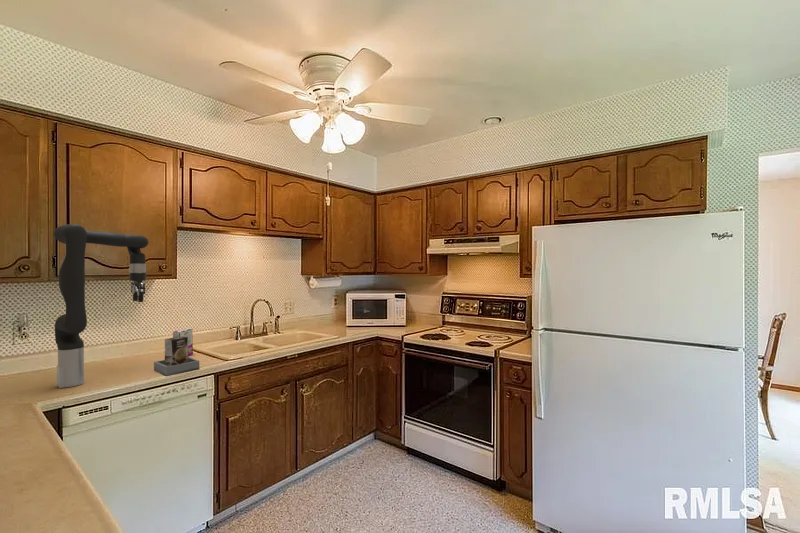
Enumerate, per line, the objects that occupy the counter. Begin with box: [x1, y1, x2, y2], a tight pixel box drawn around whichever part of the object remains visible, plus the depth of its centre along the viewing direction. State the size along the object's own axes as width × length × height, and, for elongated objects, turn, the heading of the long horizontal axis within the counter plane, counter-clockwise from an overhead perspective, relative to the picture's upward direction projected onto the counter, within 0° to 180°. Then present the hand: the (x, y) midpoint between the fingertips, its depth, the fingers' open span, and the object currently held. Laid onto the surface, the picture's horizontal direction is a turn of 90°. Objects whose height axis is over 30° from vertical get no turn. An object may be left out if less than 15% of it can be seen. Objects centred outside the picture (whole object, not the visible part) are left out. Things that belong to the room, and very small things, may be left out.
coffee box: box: [164, 337, 189, 366], centre depth 200 cm, size 9×6×16 cm
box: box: [153, 356, 200, 377], centre depth 201 cm, size 16×17×4 cm
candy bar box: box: [172, 327, 194, 357], centre depth 229 cm, size 11×5×16 cm, turn 171°
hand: (138, 301), depth 205 cm, fingers open, 8 cm apart
